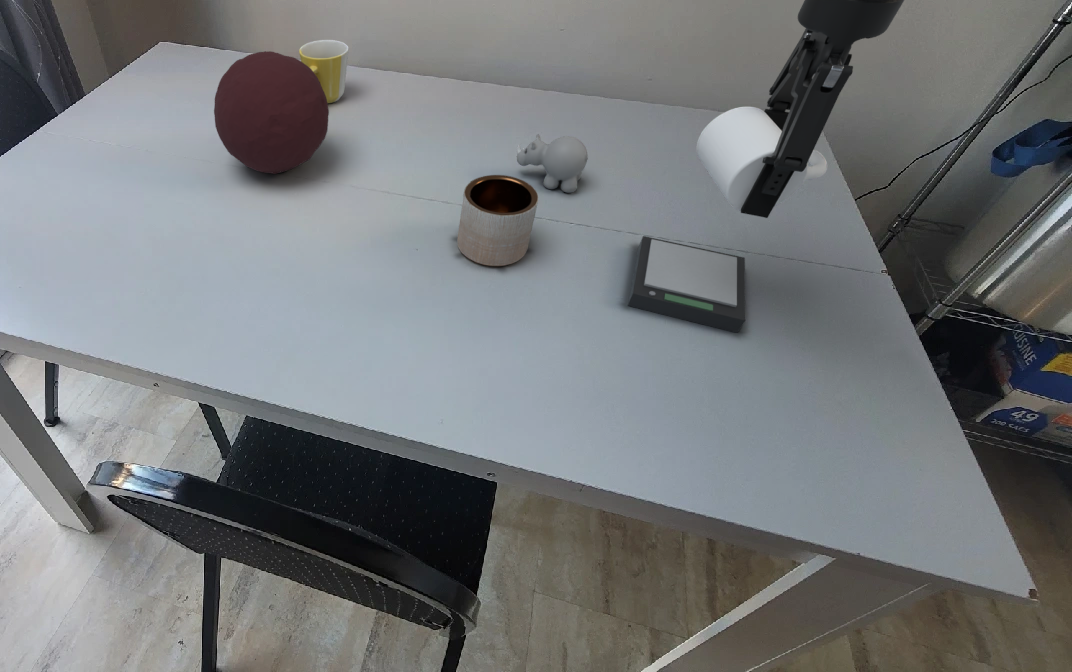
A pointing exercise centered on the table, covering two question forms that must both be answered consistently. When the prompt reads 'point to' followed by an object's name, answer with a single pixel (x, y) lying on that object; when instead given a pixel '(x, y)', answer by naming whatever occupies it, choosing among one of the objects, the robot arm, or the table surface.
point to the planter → (496, 219)
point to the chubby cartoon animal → (556, 160)
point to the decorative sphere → (271, 112)
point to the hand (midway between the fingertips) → (753, 186)
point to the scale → (689, 284)
